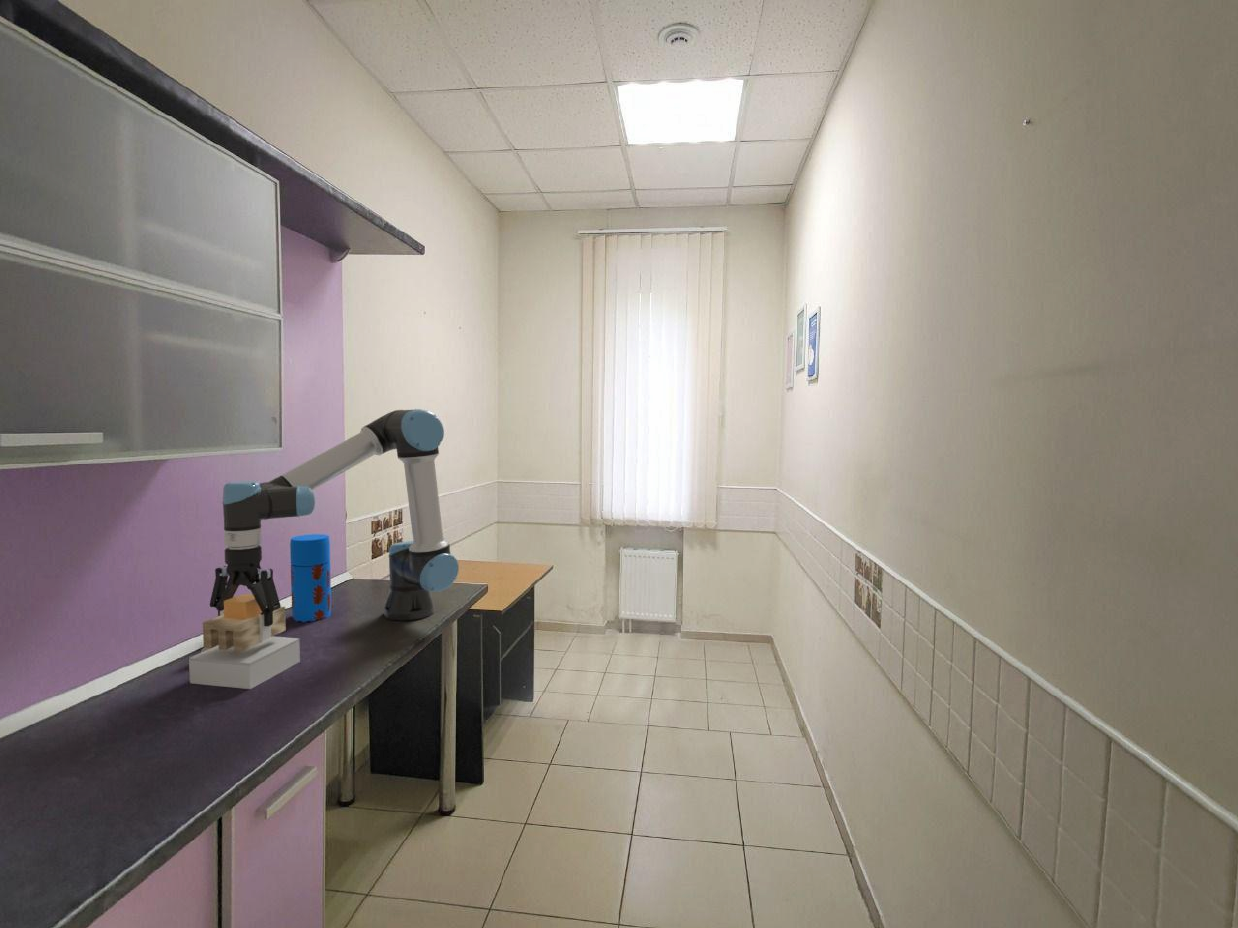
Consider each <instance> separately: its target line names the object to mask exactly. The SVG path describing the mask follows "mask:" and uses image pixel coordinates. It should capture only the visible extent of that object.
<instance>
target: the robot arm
mask: <svg viewBox="0 0 1238 928" xmlns="http://www.w3.org/2000/svg"><path fill="white" fill-rule="evenodd" d="M444 436H445V430H444V426H443V423H442V421H441V419H440V417H438V416H437V415H436V414H434V413H433V412H431V411H429V410H425V409H419V408H418V409H417V408H415V409H414V408H413V409H397V410H393V411H390V412H388V413H386V414H384V415H382V416H381V417H379V418H376V419H375V420H373V421H372V422H370V423H368V424H367V425H364V426H362V427H361V428H360V432H358V433H357V434H355V435H352V436H351V437H350V438H348V439H346V440H344V441H342V442H340V443H339V444H336V445H335V446H333V447H331V448H329V449H327V450H326V451H324V452H321V453H320V454H318V455H316V456H314V457H312V458H311V459H309V460H307V461H305V462H303V463H301V464H299V465H297V466H296V467H294V468H292V469H291V470H290V469H289V471H286V472H285V473H283V474H281V475H280V476H277V477H275V478H273V479H272V480H270V481H264V482H258V481H255V480H253V481H252V480H251V481H250V480H247V481H246V480H244V481H243V480H242V481H241V480H240V481H231V482H227V483H226V484H224V486H223V491H222V502H221V503H222V510H223V512H222V513H223V537H224V538H223V539H224V542H223V543H224V547H225V549H224V563H225V564H226V565H223V566H220V567H217V568H215V570H214V574H215V576H214V577H215V580H214V584H213V588H212V593H211V597H210V601H209V607H210V608H215V609H216V611H217V617H218V616H221V615H224V601H225V600H228V599H231V598H234V597H235V594H236V592H237V590H238V588H239V586H243V587H246V588H247V589H248V590H250V592H251V593H252V594H253V596H254V597H255V599H256V601H257V603H258V605H259V607H260V609H261V611H262V613H260V614H259V626H260V641H264V640H266V639H268V638H270V637H271V625H272V624H273V611H274V610H277V609H279V608H280V607H282V606H281V603H280V602H281V601H280V600H279V596H278V591H277V588H276V586H275V581H274V577H273V576H274V572H273V571H274V570H273V569H272V568H267V569H265V568H262V567H261V562H262V559H263V554H262V553H263V552H262V550H263V549H262V546H261V544H262V543H263V542H262V541H263V540H262V524H261V523H262V520H273V519H284V518H285V519H286V518H295V517H297V518H300V517H303V516H309V515H311V514H312V513H313V511H314V509H315V504H316V502H315V499H316V498H315V495H314V491H313V490H315V489H316V488H319V487H321V486H322V485H324V484H326V483H327V482H329V481H331V480H332V479H334V478H336V477H338V476H340V475H341V474H343V473H345V472H346V471H349V470H350V469H352V468H354V467H355V466H357V465H359V464H361V463H363V462H365V461H366V460H368V459H369V458H371V457H373V456H374V455H376V456H381V455H383V454H385V453H387V452H389V451H393V450H396V455H397V459H398V460H399V461H401V462H402V463H403V465H404V467H403V468H404V475H405V476H404V477H405V482H406V490H407V491H406V492H407V500H408V508H409V509H408V510H409V515H410V523H411V525H410V526H411V531H412V532H411V534H412V540H409V541H402V542H396V543H393V544H391V545H390V546H389V552H388V560H389V561H388V565H389V566H388V567H389V569H388V570H389V592H388V596H387V599H386V602H385V604H384V610H383V611H384V612H383V614H384V615H383V616H384V617H385V619H388V620H392V621H412V620H419V619H423V618H426V617H429V616H431V615H432V614H434V613H435V603H434V600H433V596H432V594H431V592H434V593H435V592H438V593H439V592H442V591H445V590H447V589H448V588H450V587H451V586H452V585H453V583H454V582H455V581H456V580H457V577H458V575H459V571H460V565H459V561H458V559H457V558H456V557H455V555H453V554H451V549H450V548H451V547H450V541H448V540H447V539H446V538H444V533H443V522H442V516H441V507H440V506H441V505H440V499H439V496H440V495H439V488H438V482H437V481H438V480H437V472H436V471H437V470H436V463H435V460H436V459H437V457H438V456H439V455H440V451H439V447H440V446H441V443H442V441H443V439H444ZM266 606H267V608H266Z"/></svg>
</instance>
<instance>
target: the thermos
mask: <svg viewBox="0 0 1238 928" xmlns="http://www.w3.org/2000/svg"><path fill="white" fill-rule="evenodd" d="M330 542H331V541H330V536H329V535H328V534H322V533H321V534H320V533H318V534H317V533H316V534H315V533H314V534H313V533H311V534H302V535H297V536H296V535H295V536H293V537H291V538H290V546H289V550H290V579H291V580H290V582H291V586H290V588H291V589H290V590H291V591H290V592H291V611H292V620H293V619H294V620H296V621H295V622H298V621H303V622H302V623H307V621H311V622H316V620H318V621H321V620H320V619H322V620H324V619H327V618H329V617H330V616H331V614H332V613H331V612H332V611H331V610H332V585H331V583H332V581H331V579H332V578H331V577H332V576H331V547H330V546H331V543H330Z"/></svg>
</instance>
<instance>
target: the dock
mask: <svg viewBox="0 0 1238 928" xmlns="http://www.w3.org/2000/svg"><path fill="white" fill-rule="evenodd" d="M300 653H301V651H300V638H298V637H297V638H296V637H283V636H272V637H270V638H268V639H266V640H264V641H262V642H260V643H258V644H255V645H253V646H251V647H249V648H247V649H245V650H243V651H235V650H234V646H233V647H231V648H229V649H227V650H224V649H219V645H218V646H216V647H213V648H211V649H209V650H206V651H204V652H202V653H201V652H199V653H197V654H194V655H192V656H190V657H188V665H189V666H188V667H189V668H188V670H189V684H193V685H194V684H195V685H203V686H204V685H205V686H214V687H225V688H233V689H235V688H236V689H245V690H252V689H254V688H256V687H257V686H258V685H261V684H263V683H264V682H266V681H268V680H270V679H272V678H274V677H275V676H277V675H279V674H281V673H283V672H285V671H286V670H287V669H289V668H291V667H294V666H295V665H297V664H298V663H300V662H301V654H300Z"/></svg>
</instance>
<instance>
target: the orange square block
mask: <svg viewBox="0 0 1238 928" xmlns="http://www.w3.org/2000/svg"><path fill="white" fill-rule="evenodd" d="M260 613H262V611H261V609H260V607H259V605H258V603H257V601H256V599H255V597H254V596H253V594H249V593H243V594H239V595H237V596H233V598H231V599H228V600H225V601H224V618H237V619H248V618H251V617H253V616H256V615H258V614H260Z"/></svg>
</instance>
